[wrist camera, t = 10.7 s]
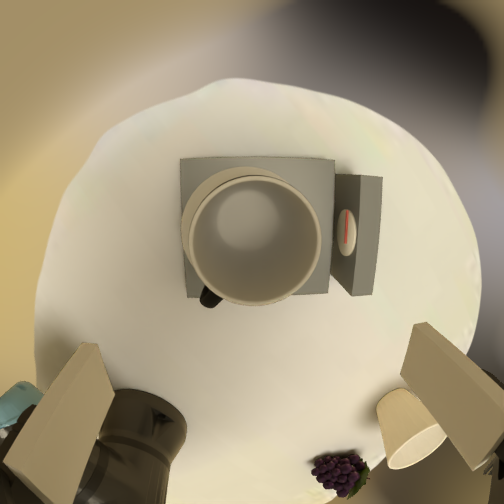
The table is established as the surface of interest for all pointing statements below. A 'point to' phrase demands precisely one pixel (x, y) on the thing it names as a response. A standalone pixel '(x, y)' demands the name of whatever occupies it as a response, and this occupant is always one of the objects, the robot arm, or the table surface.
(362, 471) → the fruit
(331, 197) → the scale
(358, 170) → the table surface
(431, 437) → the cup
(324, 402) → the table surface
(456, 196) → the table surface
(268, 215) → the mug
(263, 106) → the table surface
